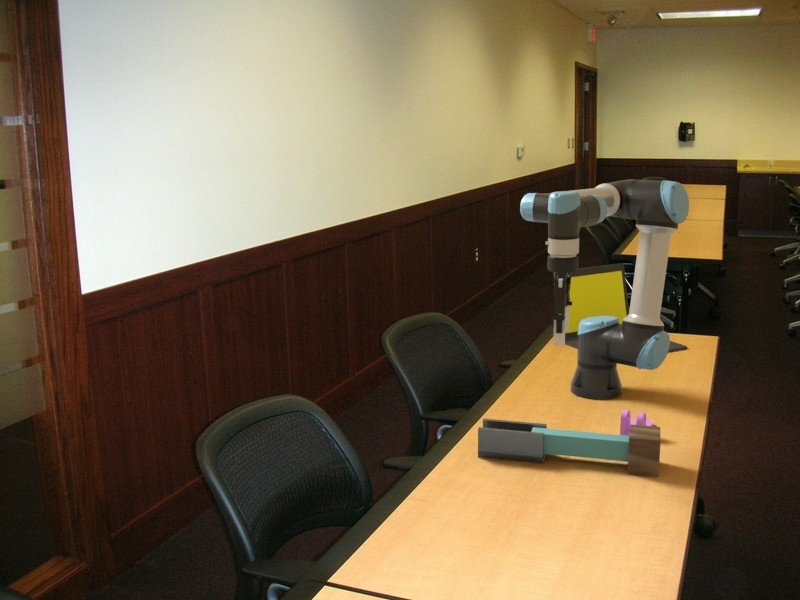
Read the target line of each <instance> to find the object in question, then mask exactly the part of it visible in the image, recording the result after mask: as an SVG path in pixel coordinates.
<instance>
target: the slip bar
mask: <svg viewBox="0 0 800 600" xmlns="http://www.w3.org/2000/svg"><path fill="white" fill-rule="evenodd" d="M531 432H537V433H544V450H543V453H544V454H546V455H556V456H565V457H575V458H576V457H577V458H587V459H594V460H595V459H598V460H606V461H615V462H616V461H617V462H627V463H628V453H629V436H625V435H620V434H612V433H604V432H603V433H601V432H591V431H590V432H588V431H581V430H580V431H579V430H578V431H577V430H568V429H557V428H556V429H555V428H548V427H547V428H536V427H533V428H532V431H531Z"/></svg>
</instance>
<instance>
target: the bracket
mask: <svg viewBox="0 0 800 600" xmlns="http://www.w3.org/2000/svg"><path fill="white" fill-rule="evenodd" d="M630 424H631V425H643V426H654V421H653V420H652V419H650V418H647V414H646V412H640V411H639V412H638V413H637V417H635V418H633V419H631V410H630V409H624V408H623V410H622V411H621V414H620V426H619V427H620V429H619V430H620V431H619V432H620V433H619V435H625V436H629V434H630Z"/></svg>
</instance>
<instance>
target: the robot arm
mask: <svg viewBox="0 0 800 600" xmlns="http://www.w3.org/2000/svg"><path fill="white" fill-rule="evenodd" d="M689 201H690V200H689V195H688V192H687V190H686V187H685V186H684V185H683V184H682V183H680V182H677V181H672V180H666V179H664V180H661V179H660V180H658V179H636V178H635V179H633V178H632V179H630V178H629V179H624V180H622V179H621V180H618V181H617V180H616V181H612V182H607V183H605V182H604V183H601V184H598V185H597V186H595V187H593V188H585V189H584V188H583V189H574V190H562V191H561V190H560V191H554V192H553V191H552V192H548V193H546V192H545V193H542V192H541V193H540V192H533V193H532V192H528V193H526V194H524V195H523V197H522V199H521V200H520V205H519V206H520V208H519V211H520V215H521V217H522V219H523V220H525V221H527V222H533V223H544V224H545V223H546V224H548V226H547V230H548V231H547V233H548V234H547V241H545V243H544V244H545V245H546V246H547V253H548V254H549V255H548V256H547V263H546V264H547V267H546V268H547V270H548V271H549V272H552V273H554V272H556V273H557V277H555V279H554V278H553V286H554V289H553V293H554V295H553V296H554V304H553V315H552V316H551V315H550V320H551V321H553V346H561V347H563V346H564V347H565V346H566V345H565V331H569V306H567V305H570V306H572V301H570V284H571V277H569V273H571V272H575V271H577V270H578V269H579V256H578V254H579V253H580V228H586V227H590V226H592V227H593V226H595V225H597V224H599V223H602V222H603V221H604V220H605V219H606V218H607V217H614V218H621V219H627V220H636V221H635V227H636V229H638V232H639V238H638V245H637V251H636V252H637V253H636V259H635V267H634V274H633V280H632V281H633V283H632V289H631V298H630V303H629V314H628V315H627V316H626V317H625V318H624V319H623V322H622V324H619V319H618V318H617V317H615V316H596V317H589V318H586V319H583V320H582V321H581V322H580V323H579V329H578V349H577V364H576V368H575V371H574V374H573V376H572V379H571V382H570V392H572V393H573V395H576V396H578V397H581V398H585V399H590V400H591V399H592V400H609V399H613V398H617V397H618V398H619V396H621V394H622V393H623V392H622V389H623V387H622V386H623V385H622V383H621V378H620V376H619V371H618V368H617V366H618V365H621V366H622V365H623V366H628V367H633V368H637V369H638V370H648V371H653V370H657V369H658V368H660V366H661V365H662V364H663V363H664V362H665V360H666V358H667V355H668V354H669V353H668V350H669V346H670V341H671V340H670V334H669V333H668V332H667V331H665V330H664V328H665V324H664V322H663V321H662V320H661V317H660V316H661V310H662V303H663V296H664V288H665V281H666V274H667V267H668V261H669V254H670V253H669V252H670V246H671V239H672V235H673V234H674V233H676V232H677V231H678V228H679V225H680V224H683V223H685V221H686V220H687V217H688V216H689V210H690V202H689ZM617 364H618V365H617Z"/></svg>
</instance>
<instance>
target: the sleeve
mask: <svg viewBox="0 0 800 600" xmlns="http://www.w3.org/2000/svg"><path fill="white" fill-rule="evenodd" d="M533 427H536V428H547V429H548V424H547V423H539V422H538V423H537V422H530V421H529V422H528V421H514V420H505V419H504V420H503V419H493V418H483V420H482V427H481V426H479V427H478V429H477V458H480V459H494V460H503V461H512V462H522V463H530V464H539V465H540V464H542V465H543V463H544V460H545V458H546V455H547V454H544V453H543V450H544V433H537V432H531V431H532V428H533Z"/></svg>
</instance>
